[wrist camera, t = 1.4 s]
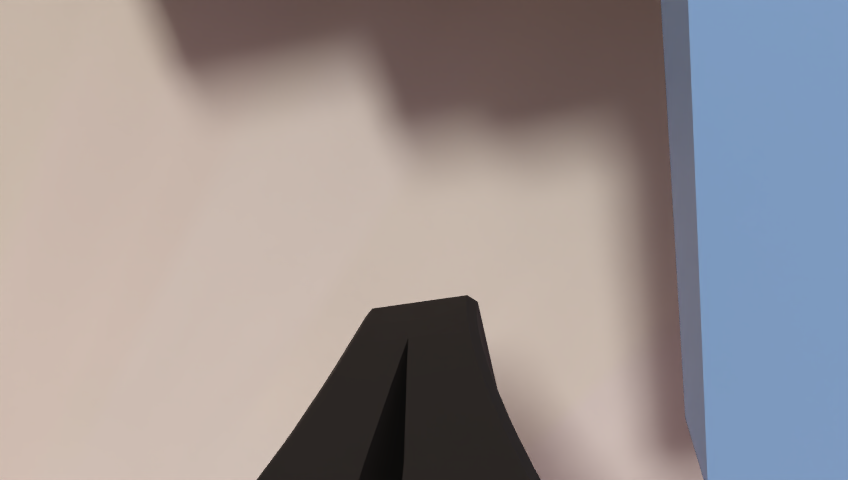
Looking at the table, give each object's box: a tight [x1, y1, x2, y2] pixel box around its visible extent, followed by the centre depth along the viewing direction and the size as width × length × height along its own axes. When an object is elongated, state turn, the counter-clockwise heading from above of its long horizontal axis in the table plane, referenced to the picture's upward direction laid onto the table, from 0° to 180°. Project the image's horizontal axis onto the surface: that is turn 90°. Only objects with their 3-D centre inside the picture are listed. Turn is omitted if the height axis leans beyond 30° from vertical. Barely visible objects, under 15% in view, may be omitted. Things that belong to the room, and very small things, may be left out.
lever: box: [661, 0, 848, 480], centre depth 11 cm, size 3×14×2 cm, turn 12°
